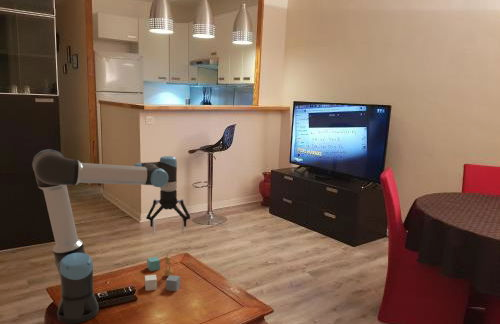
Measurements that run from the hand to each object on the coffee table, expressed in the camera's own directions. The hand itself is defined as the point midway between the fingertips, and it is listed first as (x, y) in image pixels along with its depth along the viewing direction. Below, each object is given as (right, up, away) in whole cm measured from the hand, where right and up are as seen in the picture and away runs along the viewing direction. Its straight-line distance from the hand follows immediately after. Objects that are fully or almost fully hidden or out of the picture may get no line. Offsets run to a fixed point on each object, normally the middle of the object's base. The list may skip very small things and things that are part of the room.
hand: (168, 233), depth 188 cm
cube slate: (+3, -24, -6) cm, 25 cm away
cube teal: (-10, -20, +13) cm, 26 cm away
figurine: (-1, -22, +4) cm, 23 cm away
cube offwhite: (-7, -24, -7) cm, 26 cm away
